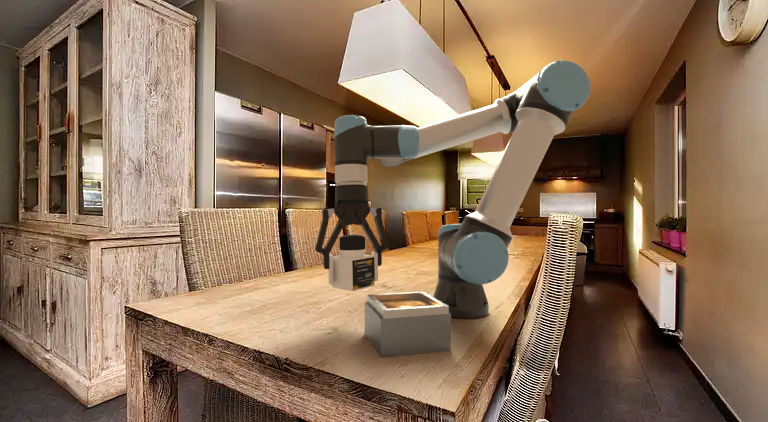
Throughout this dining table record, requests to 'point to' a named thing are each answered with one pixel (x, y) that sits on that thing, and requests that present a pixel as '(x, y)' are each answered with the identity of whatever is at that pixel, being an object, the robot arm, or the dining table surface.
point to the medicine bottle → (353, 265)
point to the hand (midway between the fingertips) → (353, 281)
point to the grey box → (407, 323)
